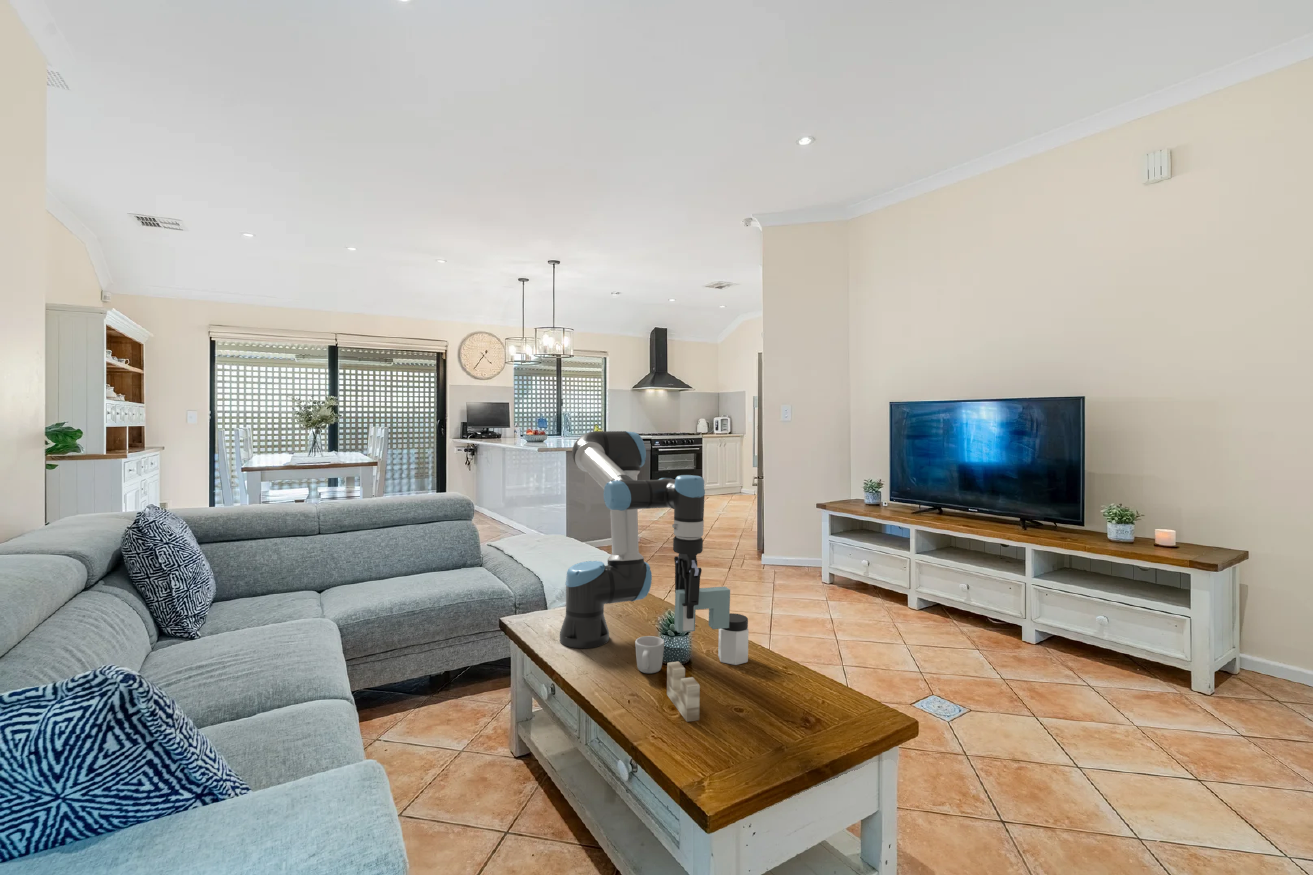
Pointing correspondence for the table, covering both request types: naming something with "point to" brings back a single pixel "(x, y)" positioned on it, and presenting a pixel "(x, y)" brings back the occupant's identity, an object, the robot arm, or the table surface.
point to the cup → (649, 653)
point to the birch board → (683, 691)
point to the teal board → (706, 607)
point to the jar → (734, 640)
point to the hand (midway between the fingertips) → (685, 627)
